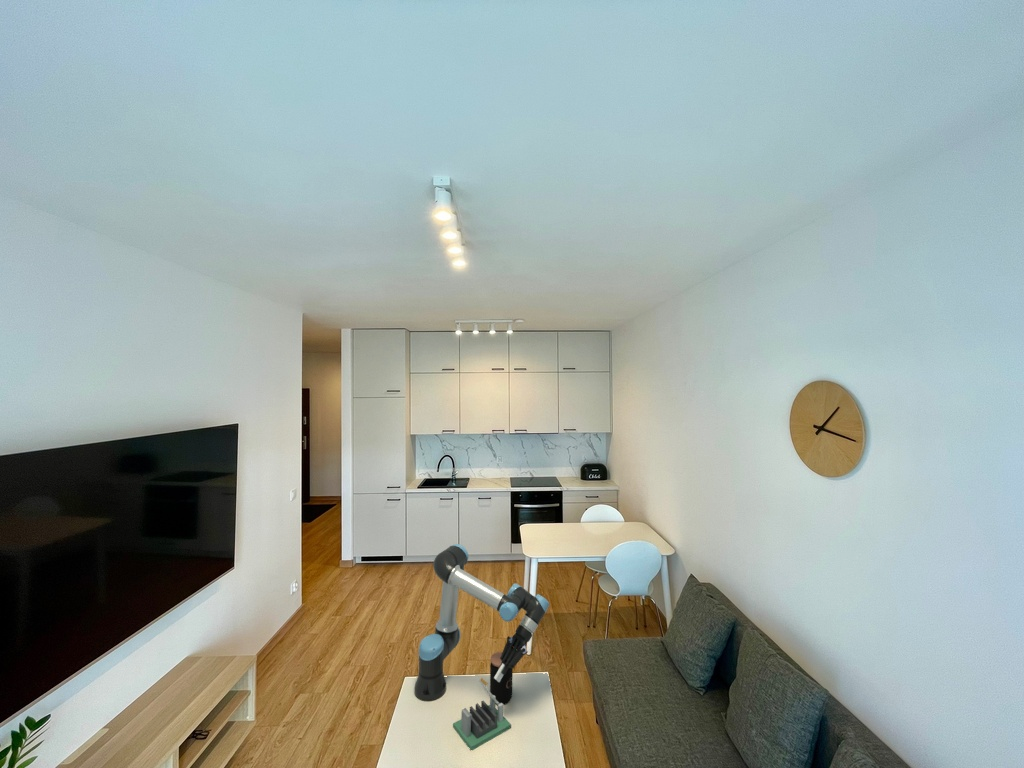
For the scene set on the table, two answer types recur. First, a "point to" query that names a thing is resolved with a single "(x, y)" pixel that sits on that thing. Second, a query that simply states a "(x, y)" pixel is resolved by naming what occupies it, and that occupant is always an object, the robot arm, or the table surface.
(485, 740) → the cpu board
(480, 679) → the silver flat bar
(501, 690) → the coffee jar
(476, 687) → the table surface
